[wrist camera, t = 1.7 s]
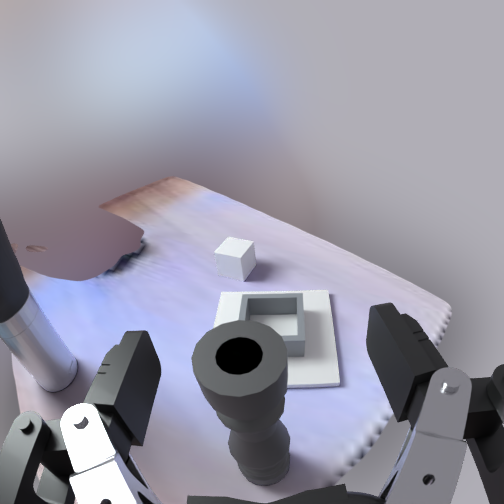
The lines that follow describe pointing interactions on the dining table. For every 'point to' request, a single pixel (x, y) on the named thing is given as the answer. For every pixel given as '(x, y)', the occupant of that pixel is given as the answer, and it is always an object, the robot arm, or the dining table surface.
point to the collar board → (292, 330)
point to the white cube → (235, 258)
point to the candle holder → (248, 394)
